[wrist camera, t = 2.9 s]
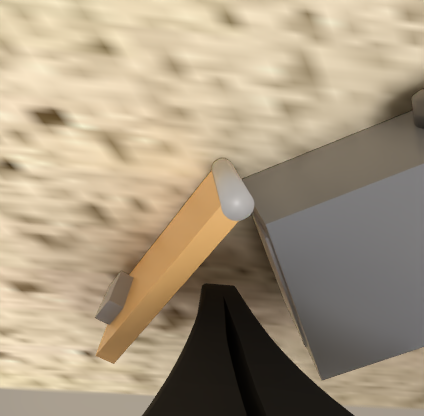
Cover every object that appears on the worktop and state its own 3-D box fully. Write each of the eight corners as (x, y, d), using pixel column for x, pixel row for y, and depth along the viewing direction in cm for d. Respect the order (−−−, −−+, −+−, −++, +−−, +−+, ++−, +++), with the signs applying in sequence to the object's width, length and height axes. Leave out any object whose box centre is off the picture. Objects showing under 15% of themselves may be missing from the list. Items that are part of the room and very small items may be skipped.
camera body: (495, 222, 13) (656, 287, 9) (282, 298, 14) (325, 394, 10) (498, 47, 10) (741, 6, 6) (229, 158, 11) (254, 199, 7)
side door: (138, 288, 13) (115, 367, 9) (112, 274, 13) (78, 351, 9) (237, 167, 11) (261, 202, 7) (211, 146, 11) (221, 172, 7)
